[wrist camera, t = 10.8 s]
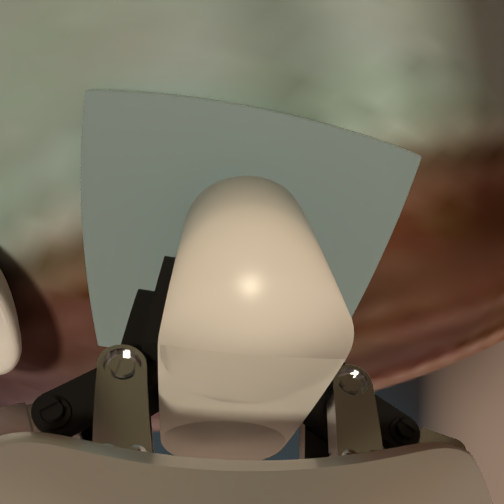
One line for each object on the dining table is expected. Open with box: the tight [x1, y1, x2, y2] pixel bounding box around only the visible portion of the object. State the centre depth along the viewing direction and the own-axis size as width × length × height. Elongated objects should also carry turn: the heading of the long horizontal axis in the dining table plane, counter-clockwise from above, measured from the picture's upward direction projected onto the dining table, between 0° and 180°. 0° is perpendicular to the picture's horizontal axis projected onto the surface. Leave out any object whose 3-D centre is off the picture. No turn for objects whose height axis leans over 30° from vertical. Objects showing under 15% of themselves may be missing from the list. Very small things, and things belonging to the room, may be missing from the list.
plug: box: [158, 176, 354, 460], centre depth 10 cm, size 11×4×5 cm, turn 168°
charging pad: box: [81, 89, 421, 347], centre depth 14 cm, size 13×13×1 cm
